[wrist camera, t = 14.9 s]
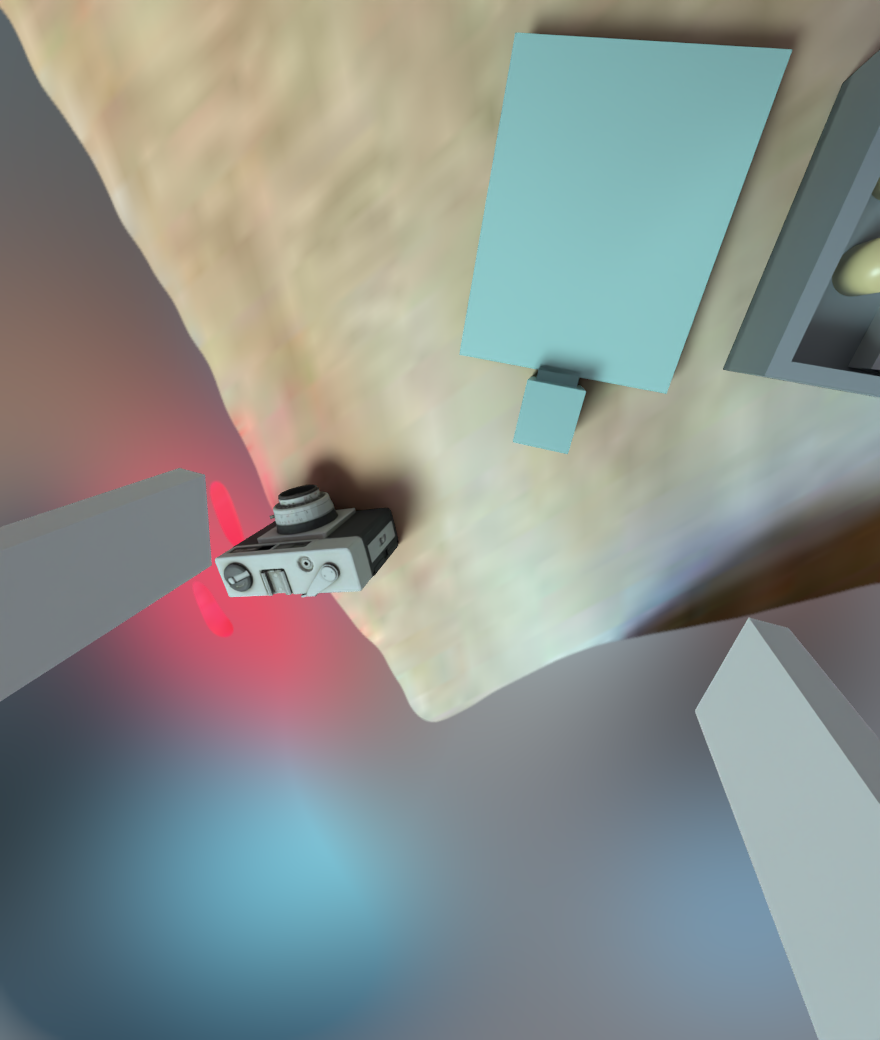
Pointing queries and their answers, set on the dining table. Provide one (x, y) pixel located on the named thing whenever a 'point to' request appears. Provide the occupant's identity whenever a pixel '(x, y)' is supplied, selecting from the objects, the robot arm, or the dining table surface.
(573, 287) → the lid
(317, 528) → the camera
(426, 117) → the dining table surface
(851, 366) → the tub
